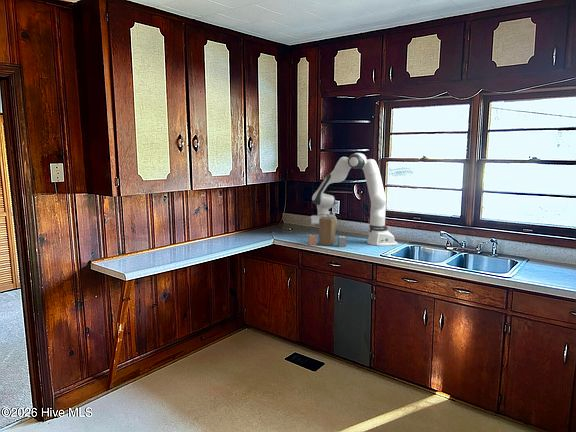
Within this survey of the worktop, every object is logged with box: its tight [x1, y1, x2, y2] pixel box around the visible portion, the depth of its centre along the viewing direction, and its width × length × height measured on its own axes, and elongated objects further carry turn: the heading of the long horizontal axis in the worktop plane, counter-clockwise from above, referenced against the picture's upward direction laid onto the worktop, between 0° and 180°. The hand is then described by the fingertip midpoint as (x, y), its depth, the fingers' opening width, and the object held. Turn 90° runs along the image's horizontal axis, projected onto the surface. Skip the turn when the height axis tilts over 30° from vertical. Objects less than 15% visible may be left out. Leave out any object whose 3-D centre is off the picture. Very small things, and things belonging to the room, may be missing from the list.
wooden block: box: [318, 217, 337, 247], centre depth 313 cm, size 10×10×20 cm
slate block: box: [337, 235, 347, 248], centre depth 308 cm, size 5×5×8 cm
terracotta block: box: [308, 233, 317, 246], centre depth 312 cm, size 5×5×8 cm
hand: (324, 229), depth 324 cm, fingers closed
